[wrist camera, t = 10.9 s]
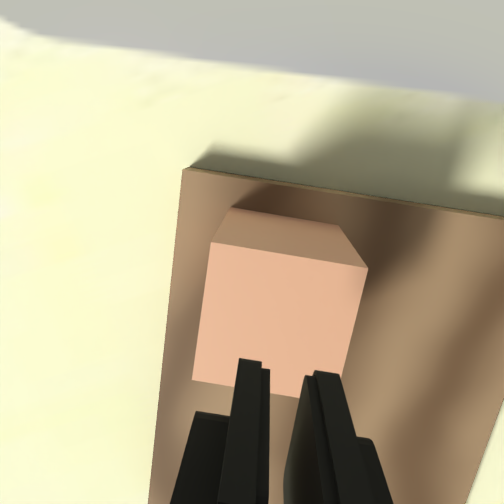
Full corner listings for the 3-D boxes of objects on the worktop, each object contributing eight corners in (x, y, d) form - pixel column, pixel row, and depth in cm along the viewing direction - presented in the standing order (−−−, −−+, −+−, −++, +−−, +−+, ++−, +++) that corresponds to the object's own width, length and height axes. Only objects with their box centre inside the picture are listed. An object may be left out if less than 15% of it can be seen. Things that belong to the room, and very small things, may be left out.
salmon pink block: (338, 225, 20) (368, 268, 14) (316, 324, 22) (334, 403, 15) (230, 207, 20) (210, 241, 14) (215, 307, 22) (191, 379, 15)
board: (545, 223, 21) (565, 229, 20) (437, 531, 27) (446, 554, 25) (188, 166, 21) (182, 169, 20) (154, 486, 27) (147, 506, 25)
